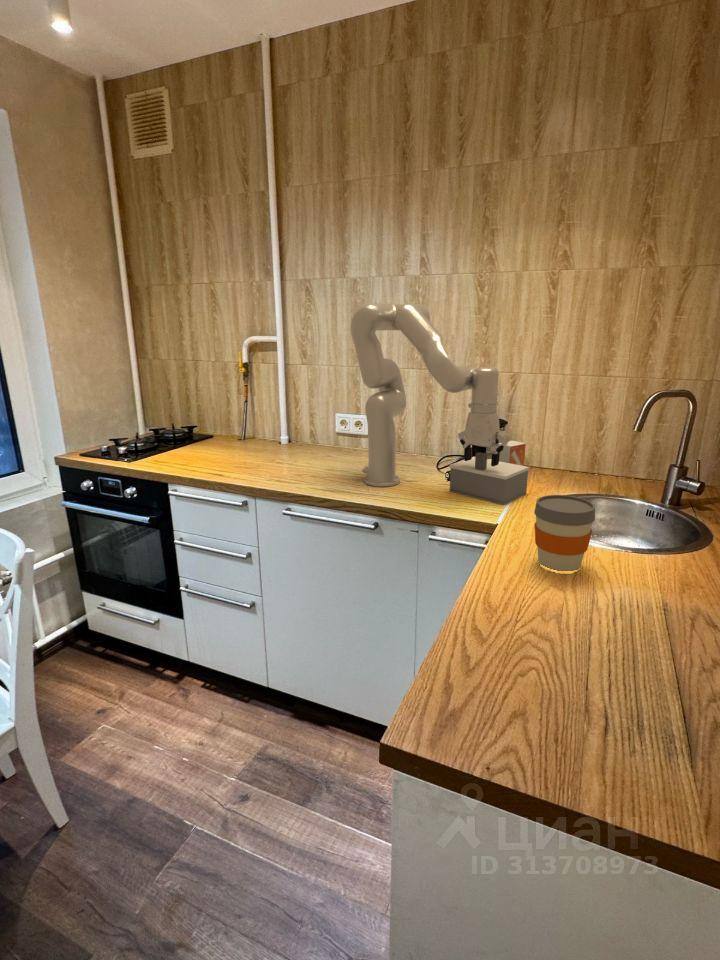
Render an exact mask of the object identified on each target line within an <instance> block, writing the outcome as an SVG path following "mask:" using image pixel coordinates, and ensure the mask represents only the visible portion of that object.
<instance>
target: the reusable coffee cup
mask: <svg viewBox="0 0 720 960" xmlns="http://www.w3.org/2000/svg"><path fill="white" fill-rule="evenodd" d="M533 513H534V516H535V523H534V525H533V526H534V542H535V545H536V546H537V562H538V561H539V563H540V564H541V565H543V566H545V567H547V568H550V569H553V570H557V571H574V570H578V569H579V568H580V569H581V567H582V562H583V559H584V556H585V555H584V554H585V553H586V552H587V551H588V548H589V544H590V540H591V537H592V534H593V530H592V526H593V523H594V521H595V519H596V505H595V504H594V503H593V502H592V501H590V500H588V499H585V498H582V497H578V496H573V495H568V494H567V495H565V494H549V495H542V496H540V497H539V498H537V499H536V502H535V508H534V512H533Z"/></svg>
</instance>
